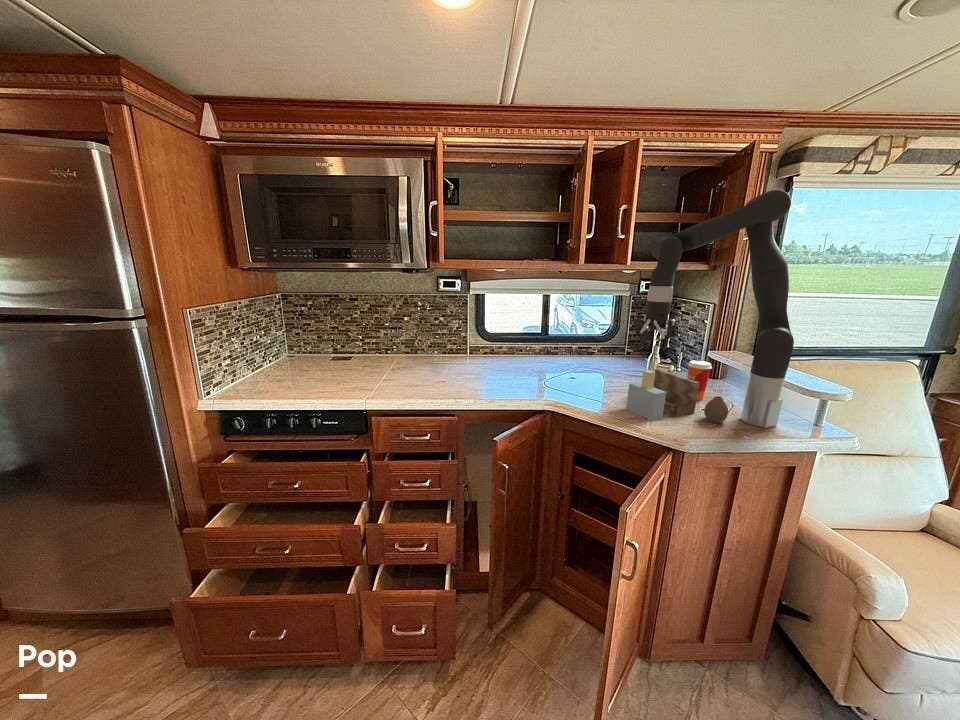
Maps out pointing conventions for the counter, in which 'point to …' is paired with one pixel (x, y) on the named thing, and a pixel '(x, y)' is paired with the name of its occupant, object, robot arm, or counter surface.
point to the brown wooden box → (677, 393)
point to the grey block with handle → (646, 397)
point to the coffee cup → (699, 375)
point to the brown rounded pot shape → (716, 410)
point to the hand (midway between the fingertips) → (652, 346)
